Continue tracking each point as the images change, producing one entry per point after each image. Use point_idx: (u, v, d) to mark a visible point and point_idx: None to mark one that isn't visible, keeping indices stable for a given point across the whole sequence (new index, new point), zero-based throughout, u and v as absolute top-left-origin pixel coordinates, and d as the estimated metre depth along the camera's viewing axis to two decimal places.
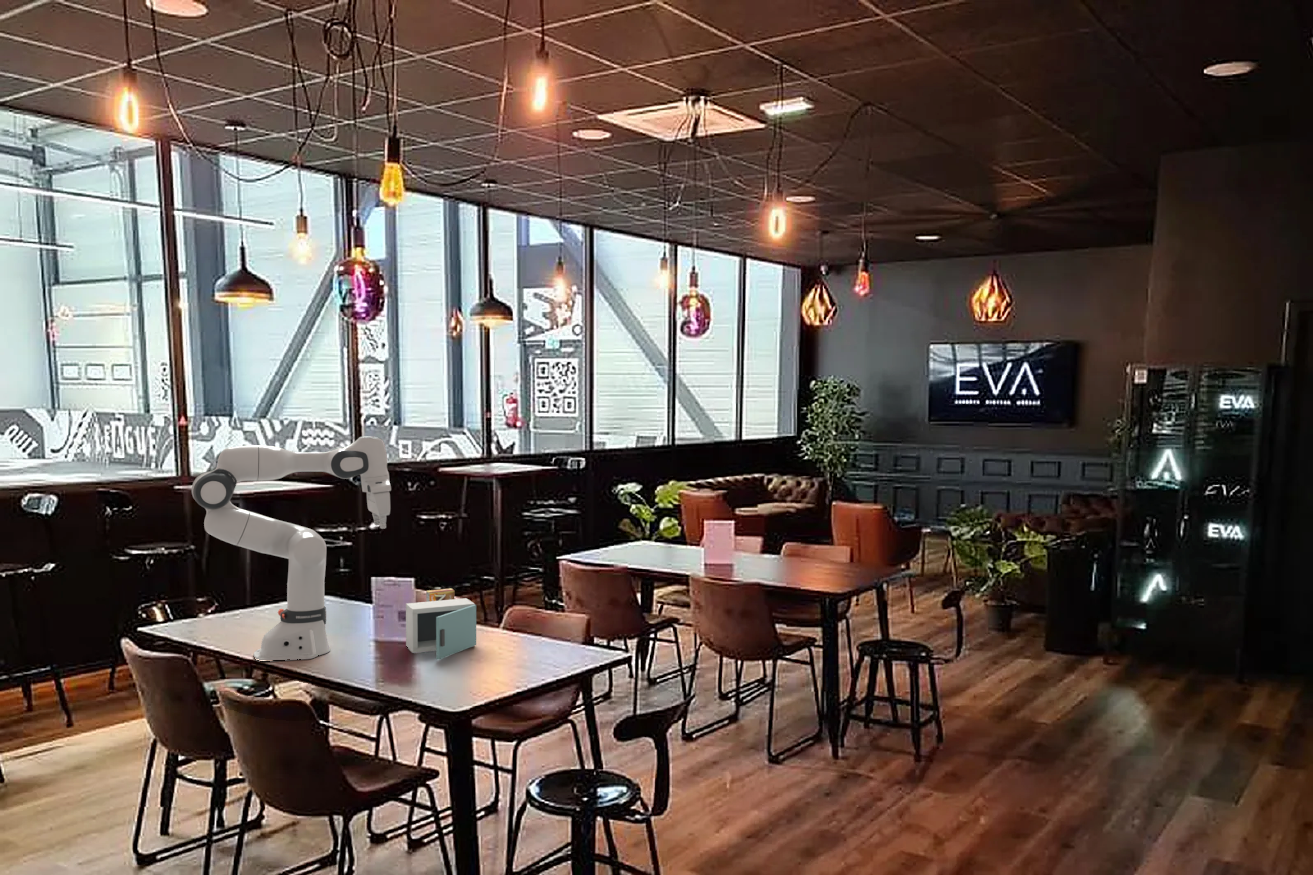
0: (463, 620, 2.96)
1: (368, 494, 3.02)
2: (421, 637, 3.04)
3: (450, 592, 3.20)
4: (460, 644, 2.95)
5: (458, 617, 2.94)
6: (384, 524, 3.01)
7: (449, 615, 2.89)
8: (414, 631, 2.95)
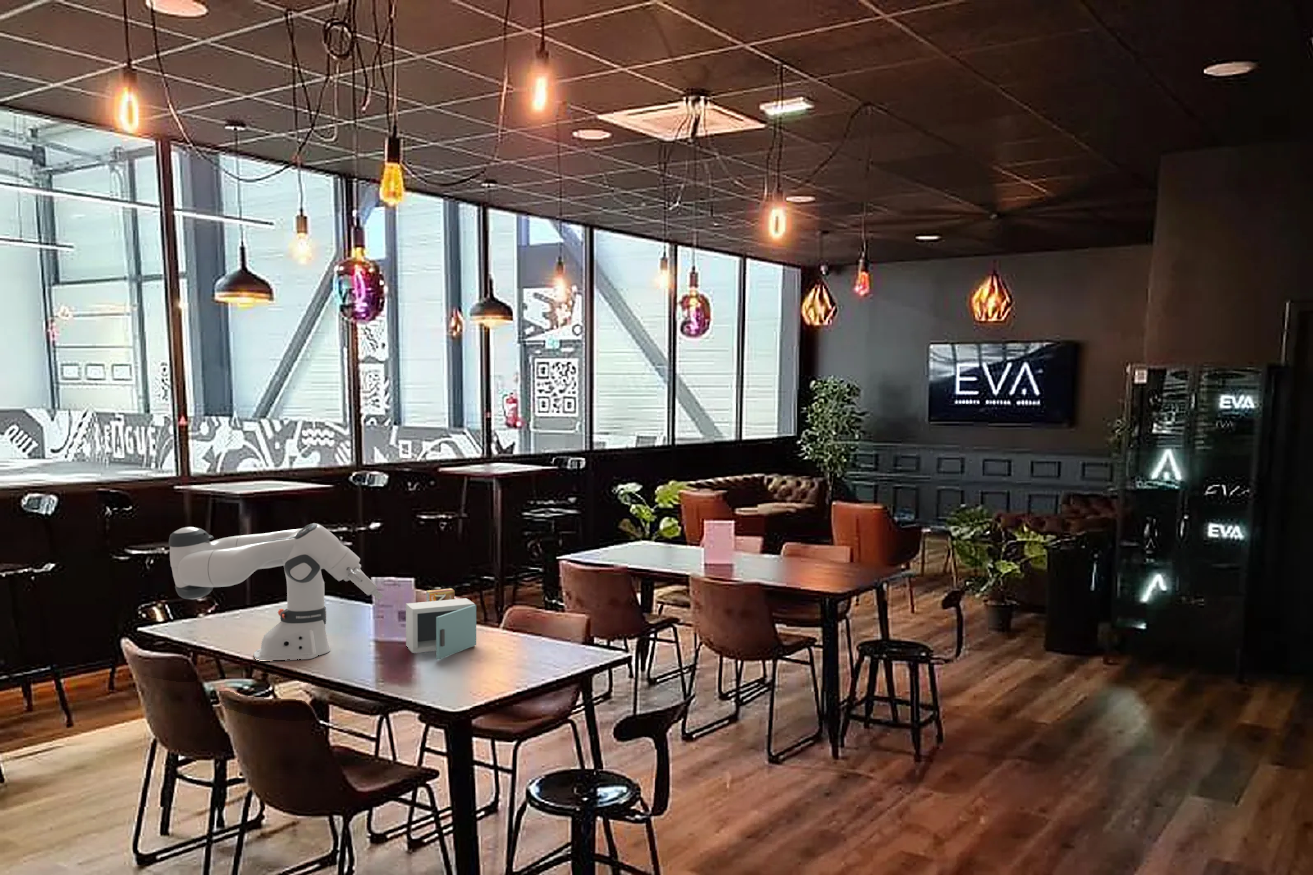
0: (463, 620, 2.96)
1: None
2: (421, 637, 3.04)
3: (450, 592, 3.20)
4: (460, 644, 2.95)
5: (458, 617, 2.94)
6: None
7: (449, 615, 2.89)
8: (414, 631, 2.95)
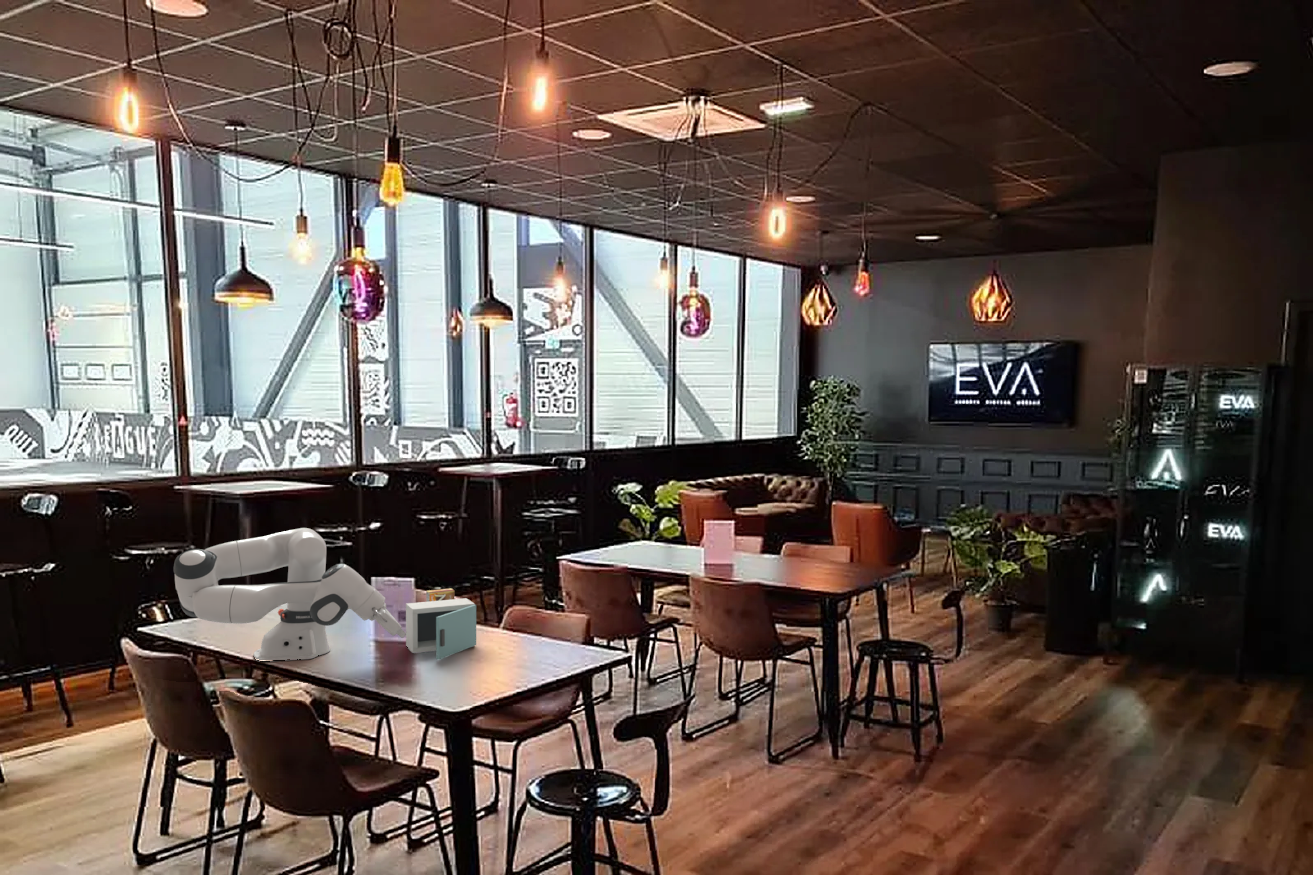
0: (463, 620, 2.96)
1: None
2: (421, 637, 3.04)
3: (450, 592, 3.20)
4: (460, 644, 2.95)
5: (458, 617, 2.94)
6: None
7: (449, 615, 2.89)
8: (414, 631, 2.95)
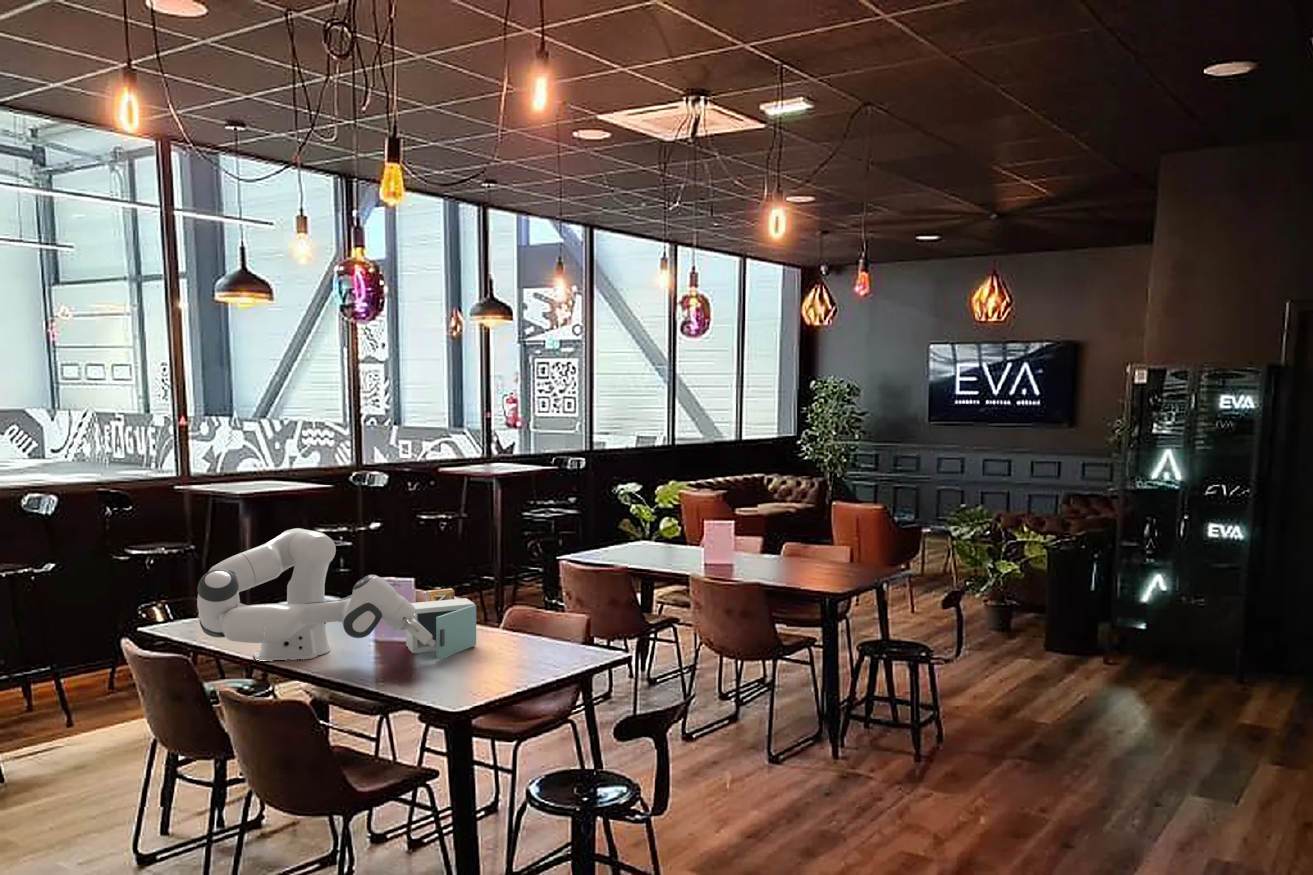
0: (463, 620, 2.96)
1: None
2: None
3: (450, 592, 3.20)
4: (460, 644, 2.95)
5: (458, 617, 2.94)
6: None
7: (449, 615, 2.89)
8: None
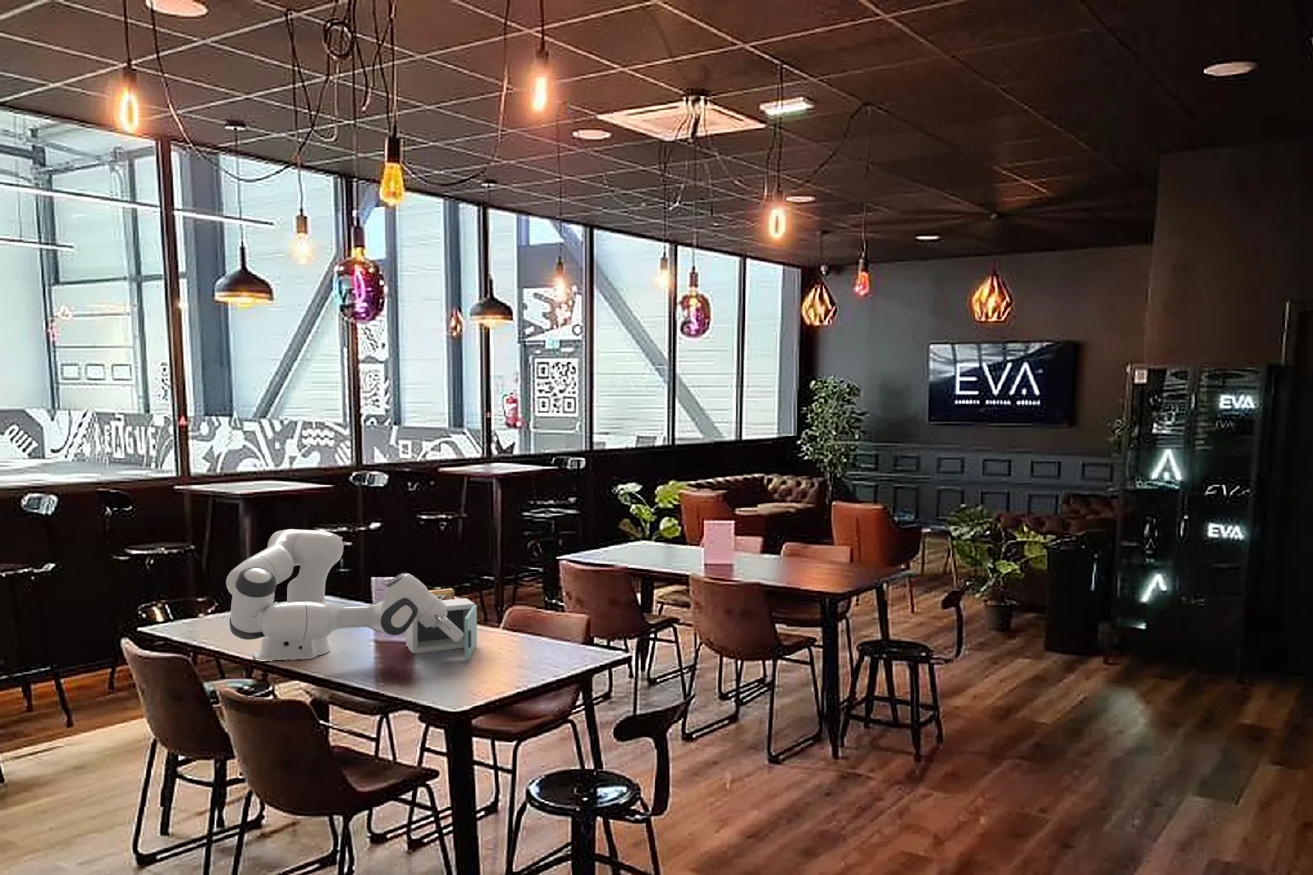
0: (473, 620, 2.96)
1: None
2: (421, 637, 3.04)
3: (450, 592, 3.20)
4: (473, 644, 2.95)
5: (472, 617, 2.93)
6: None
7: (470, 616, 2.89)
8: (414, 631, 2.95)
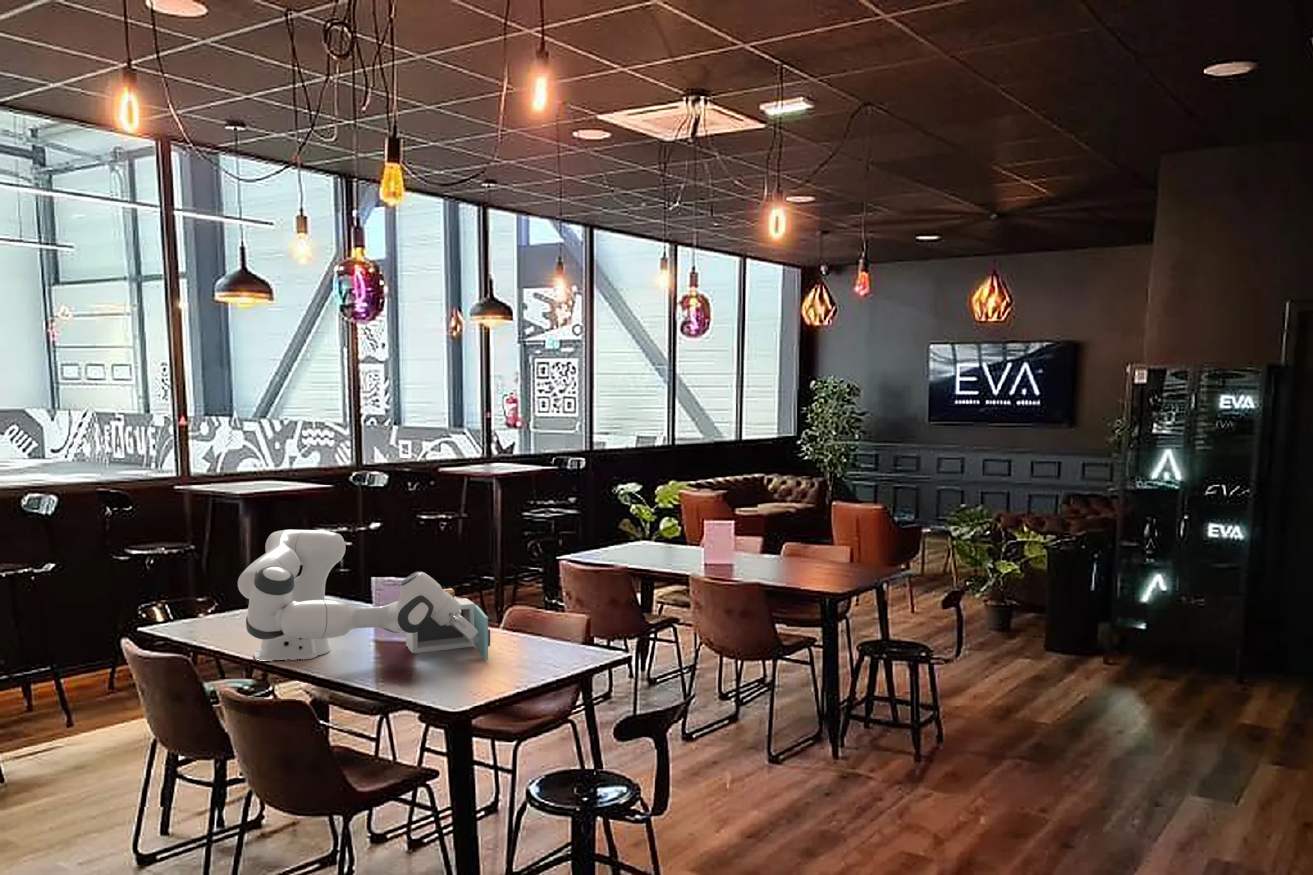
0: None
1: None
2: (421, 637, 3.04)
3: (450, 592, 3.20)
4: None
5: None
6: None
7: None
8: None
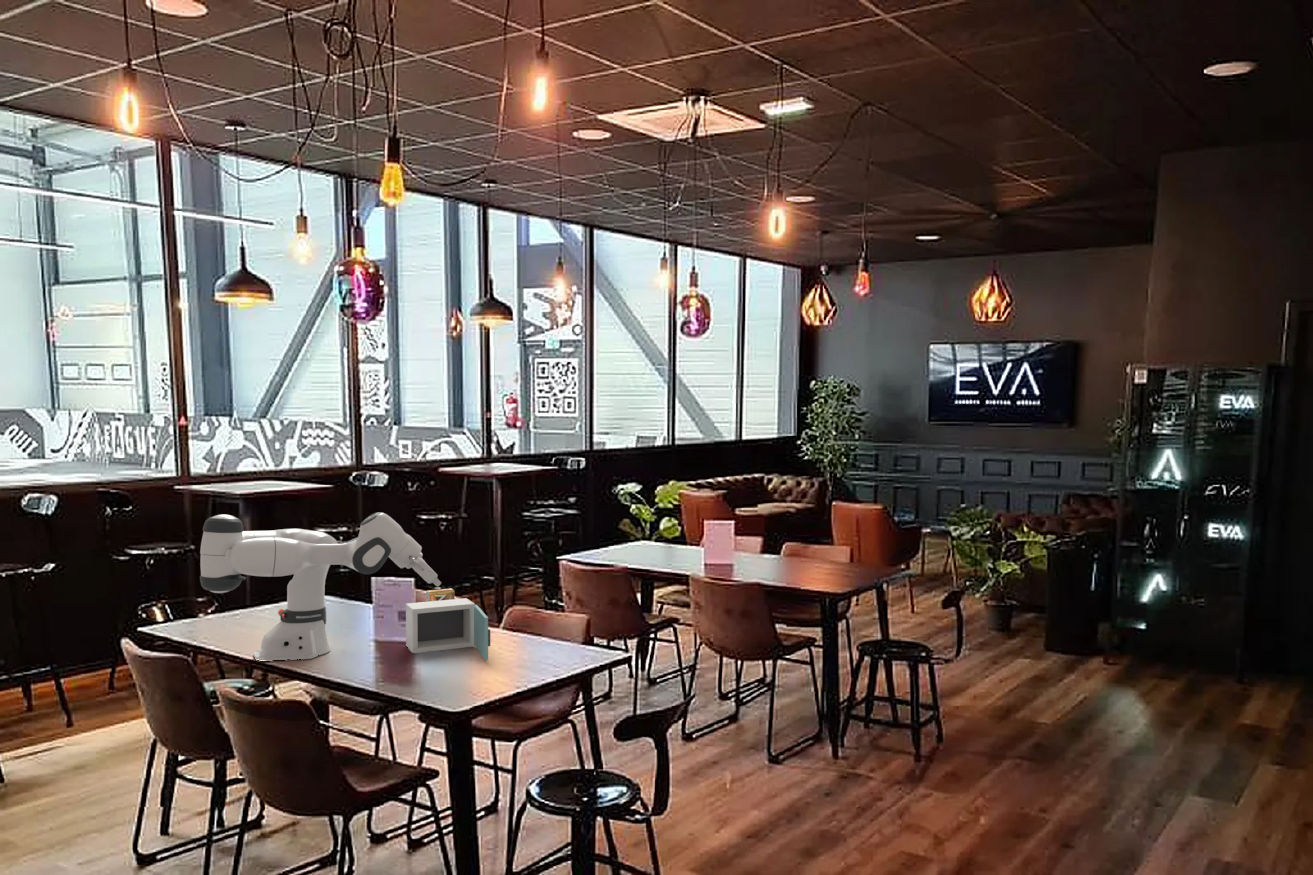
0: None
1: None
2: (421, 637, 3.04)
3: (450, 592, 3.20)
4: None
5: None
6: None
7: None
8: (414, 631, 2.95)
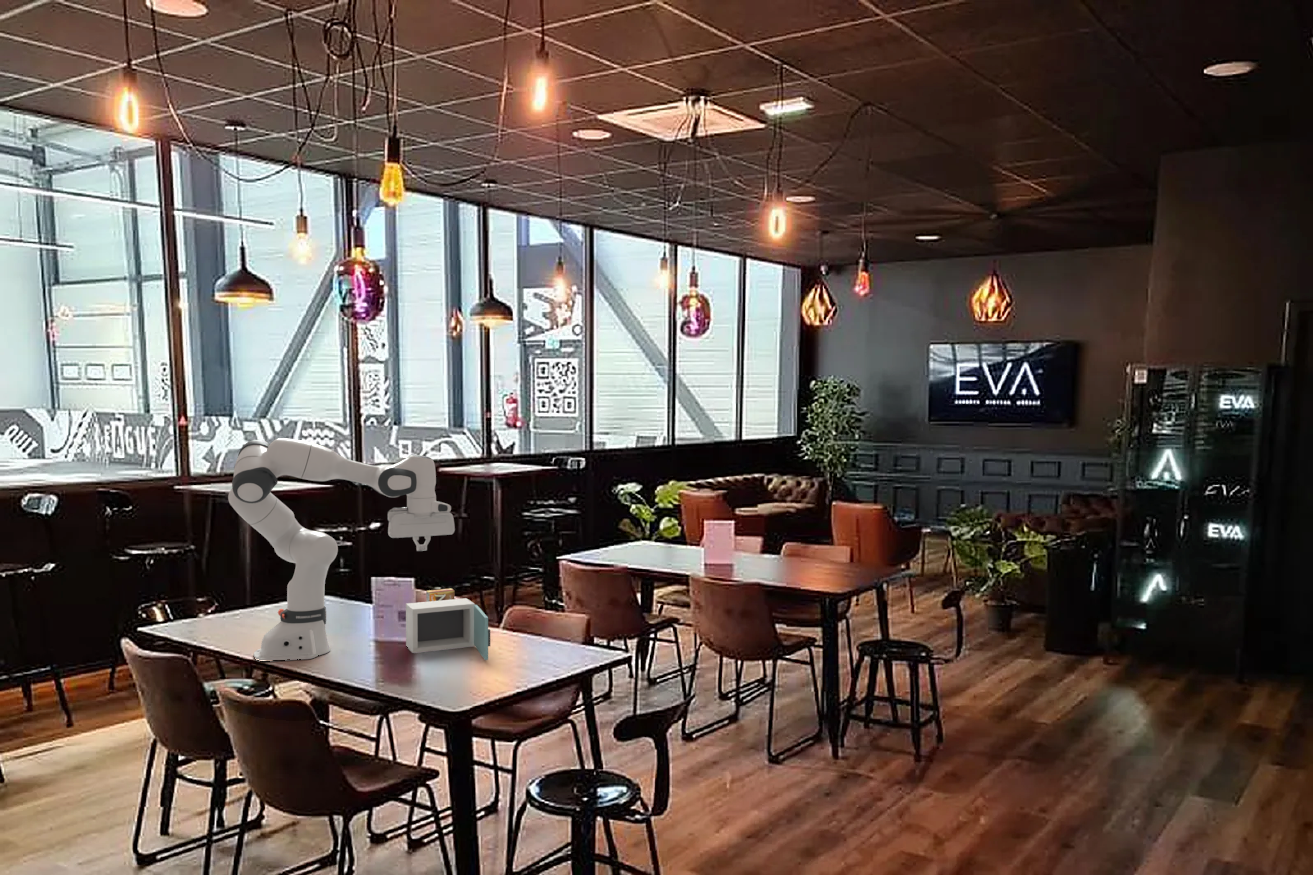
0: None
1: (427, 515, 2.89)
2: (421, 637, 3.04)
3: (450, 592, 3.20)
4: None
5: None
6: None
7: None
8: (414, 631, 2.95)
